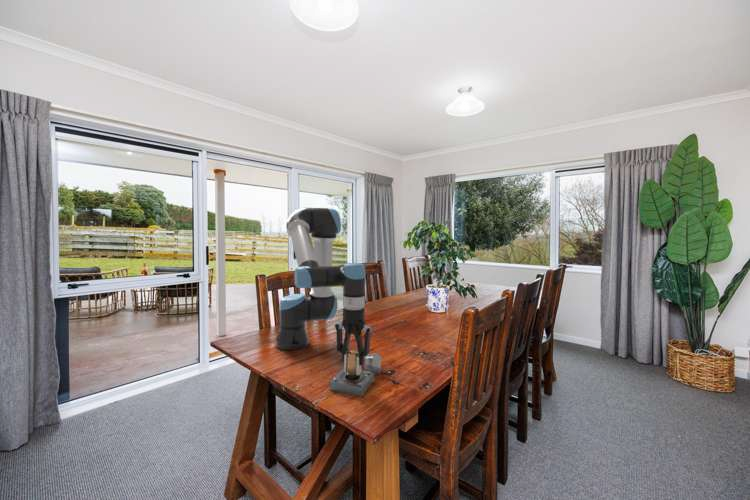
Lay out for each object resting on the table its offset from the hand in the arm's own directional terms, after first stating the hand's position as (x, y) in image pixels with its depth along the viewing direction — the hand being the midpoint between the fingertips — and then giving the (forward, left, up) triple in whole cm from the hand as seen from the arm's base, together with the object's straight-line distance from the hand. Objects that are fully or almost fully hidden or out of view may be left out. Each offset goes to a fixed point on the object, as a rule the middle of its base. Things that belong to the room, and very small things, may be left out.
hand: (352, 372), depth 114 cm
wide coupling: (+3, +13, -5) cm, 14 cm away
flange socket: (0, 0, -5) cm, 5 cm away
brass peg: (0, 0, -3) cm, 3 cm away
